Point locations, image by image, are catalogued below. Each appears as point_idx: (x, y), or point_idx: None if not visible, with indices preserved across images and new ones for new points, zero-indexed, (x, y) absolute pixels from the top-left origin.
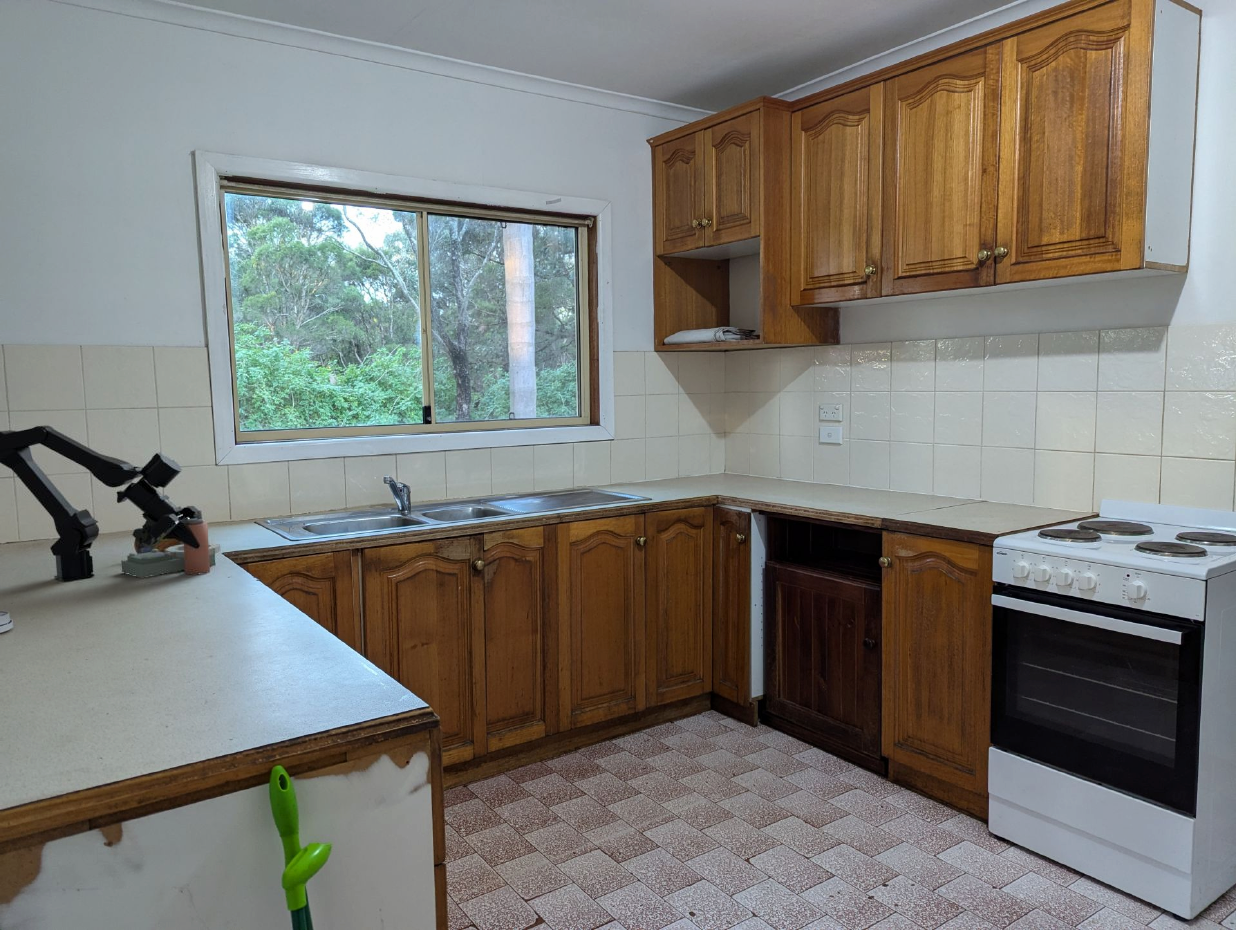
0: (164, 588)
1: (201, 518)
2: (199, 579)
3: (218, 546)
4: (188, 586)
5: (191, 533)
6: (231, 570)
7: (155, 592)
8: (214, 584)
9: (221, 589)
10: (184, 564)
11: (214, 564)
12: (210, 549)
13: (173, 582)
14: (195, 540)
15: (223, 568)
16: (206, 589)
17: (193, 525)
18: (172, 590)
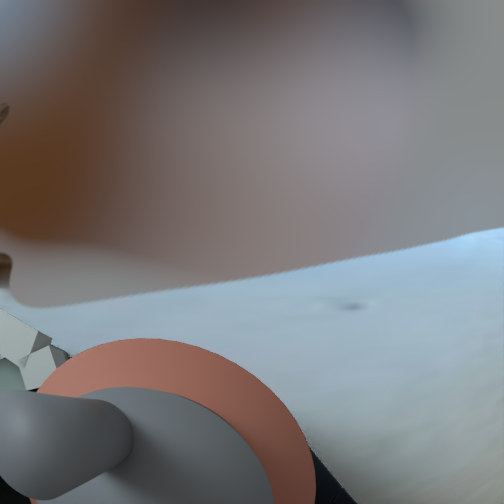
0: (439, 486)
1: (119, 409)
2: (351, 411)
3: (4, 311)
4: (443, 421)
5: (334, 489)
6: (218, 298)
7: (472, 488)
8: (441, 344)
9: (490, 316)
10: None
11: (65, 354)
12: (54, 357)
13: (364, 492)
14: (311, 451)
15: (155, 327)
16: (485, 356)
17: (311, 497)
18: (470, 451)
